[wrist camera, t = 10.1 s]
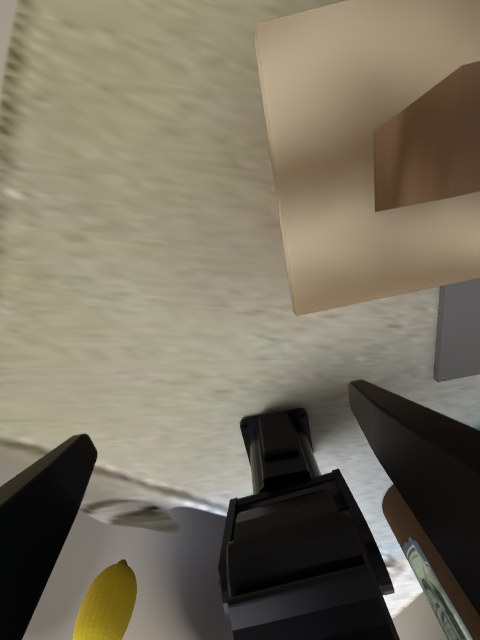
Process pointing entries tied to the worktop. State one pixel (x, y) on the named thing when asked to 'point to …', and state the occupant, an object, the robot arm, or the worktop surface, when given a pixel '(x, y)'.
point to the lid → (374, 146)
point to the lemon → (107, 605)
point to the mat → (458, 331)
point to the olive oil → (431, 571)
